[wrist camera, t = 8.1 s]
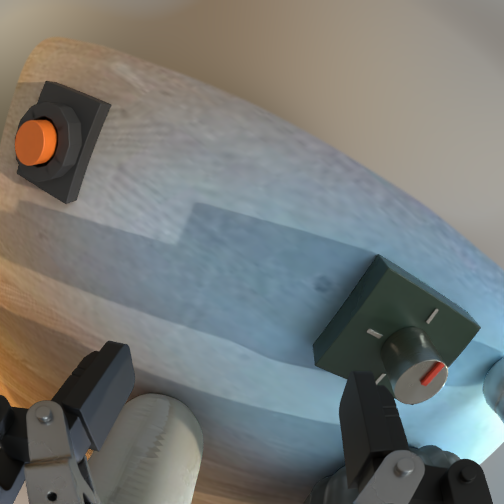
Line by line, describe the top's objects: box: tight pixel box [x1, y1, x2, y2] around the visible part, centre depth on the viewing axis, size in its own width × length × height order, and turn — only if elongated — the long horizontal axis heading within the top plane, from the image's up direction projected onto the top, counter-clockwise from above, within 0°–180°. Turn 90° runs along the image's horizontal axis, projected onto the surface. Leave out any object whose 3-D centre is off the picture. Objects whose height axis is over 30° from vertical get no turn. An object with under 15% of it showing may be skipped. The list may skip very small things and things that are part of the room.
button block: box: [15, 81, 111, 204], centre depth 22 cm, size 9×7×4 cm
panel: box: [313, 254, 481, 405], centre depth 25 cm, size 12×10×3 cm
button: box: [15, 120, 57, 166], centre depth 20 cm, size 4×4×2 cm
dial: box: [381, 327, 448, 404], centre depth 22 cm, size 4×4×5 cm
